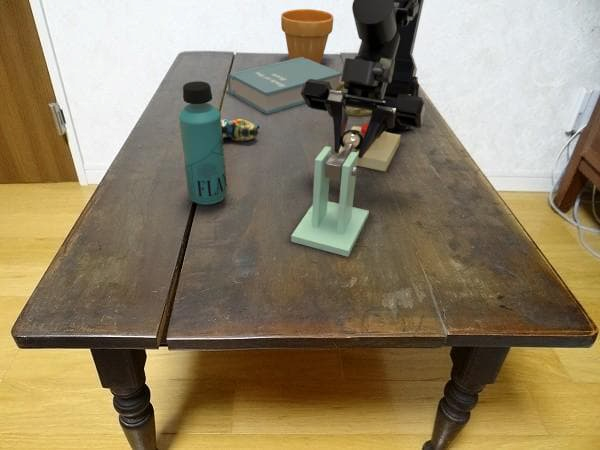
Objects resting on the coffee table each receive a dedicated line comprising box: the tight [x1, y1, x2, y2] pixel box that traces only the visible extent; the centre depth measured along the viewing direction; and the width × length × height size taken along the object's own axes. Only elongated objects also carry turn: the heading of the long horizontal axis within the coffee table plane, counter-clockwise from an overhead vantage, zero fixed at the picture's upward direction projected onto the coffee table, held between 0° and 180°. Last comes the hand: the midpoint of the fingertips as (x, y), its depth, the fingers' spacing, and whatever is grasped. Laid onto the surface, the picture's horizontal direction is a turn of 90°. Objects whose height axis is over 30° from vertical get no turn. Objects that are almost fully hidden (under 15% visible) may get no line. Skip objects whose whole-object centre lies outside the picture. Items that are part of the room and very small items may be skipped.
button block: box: [334, 125, 402, 172], centre depth 95 cm, size 12×10×4 cm
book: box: [227, 57, 342, 115], centre depth 119 cm, size 23×16×5 cm
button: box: [360, 123, 379, 138], centre depth 93 cm, size 4×4×2 cm
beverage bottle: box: [177, 80, 228, 206], centre depth 74 cm, size 6×7×20 cm
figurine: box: [221, 118, 260, 142], centre depth 99 cm, size 10×4×15 cm
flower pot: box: [280, 8, 334, 65], centre depth 135 cm, size 14×14×13 cm
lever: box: [325, 128, 364, 182], centre depth 72 cm, size 11×4×4 cm, turn 158°
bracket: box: [290, 145, 370, 258], centre depth 71 cm, size 11×9×13 cm
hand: (347, 154), depth 74 cm, fingers closed on lever, 3 cm apart
